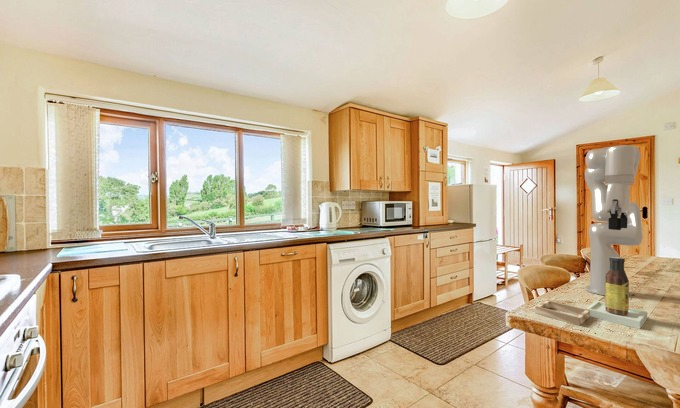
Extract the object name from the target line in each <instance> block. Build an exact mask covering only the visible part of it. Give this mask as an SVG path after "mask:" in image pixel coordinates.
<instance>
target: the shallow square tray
mask: <svg viewBox="0 0 680 408" xmlns="http://www.w3.org/2000/svg"><path fill="white" fill-rule="evenodd" d="M605 308H606V306H605V301H601V300H595V301H594V302H592V303H590V305H588V306H587V307H585V308H584V309H587V310H590V317H591V318H595V319H600V320H603V321H607V322H610V323H614V324H618V325H622V326H626V327H631V328H634V329H638V330H640V329H641V328H642V327H643V325H644V324H645V322H646V321H647V319H648V311H646V310H641V309H637V308H633V307H632V308H631V307H629V310H628V314H627V315H618V314H613V313H610V312H607V311H606V309H605ZM590 317H589V318H590Z"/></svg>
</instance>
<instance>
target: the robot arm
mask: <svg viewBox="0 0 680 408" xmlns="http://www.w3.org/2000/svg"><path fill="white" fill-rule="evenodd" d="M585 155H586V156H585V165H586V169H585V170H584V179H585V183H586V186H587V188H588V190H589V192H590V194H591V195H590V196H591V214H592V218H593V220H595V221H598V222H595V223H591V224H590V225H589V227H588V237H589V244H590V270H589V285H586V286H585V290H586V291H587V292H589V293H591V294H592V293H593V294H596V295H600V296H605V282H606V274H607V273H608V271H609V270H610V261H609V257H620V255H619V253H618V251H616V250H615V248H614V247H612V246H613V245H614V246H615V245H618V246H631V247H636V246H639V245H641V244H642V241H643V227H642V217H641V215H642V214H641V209H640V206H639V205H638V203H636V202H633V201H631V199H630V198H631V197H630V192H631V190H630V189H631V187H630V186H634V185H635V177H636V175H637V173H638V172H637V171H638V168H639V164H640V161H641V151H640V149H639V147H637V146H636V145H629V144H628V145H627V144H626V145H624V144H621V145H614V146H607V147H603V148H597V149H590V150H588V151H587V153H586V154H585Z"/></svg>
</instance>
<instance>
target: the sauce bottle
mask: <svg viewBox="0 0 680 408" xmlns="http://www.w3.org/2000/svg"><path fill="white" fill-rule="evenodd" d="M609 261H610V270H609V271H608V273H607V274H606V282H605V295H604V302H605V306H606V308H605V309H606V311H607V312H610V313H613V314H618V315H627V314H628V310H629V308H630V306H629V304H630V280H629V277H628V276H627V273H626V271H625V262H626V259H625V258H624V257H620V256H619V257H609Z"/></svg>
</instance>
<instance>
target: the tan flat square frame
mask: <svg viewBox="0 0 680 408" xmlns="http://www.w3.org/2000/svg"><path fill="white" fill-rule="evenodd" d="M553 309H554V310H553ZM557 310H558V311H557ZM534 312H535V313H534V314H536V315H540V316H542V317H543V316H544V317H547V318H550V319H554V320H558V321H561V322H565V323H569V324H571V325H576V326H579V327H580V326H581V325H583V323H585V322H586V321H587V320H588V319H590V310H587V309H585V308H583V307H578V306H574V305H571V304H565V303H563V302H557V301H555V300H554V301H553V300H549V299H547V300H545V301H544V302H541V303H540V304H538V305H536V306H535V310H534ZM564 312H565V313H564ZM568 313H569V314H568ZM575 315H576V316H575Z"/></svg>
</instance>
